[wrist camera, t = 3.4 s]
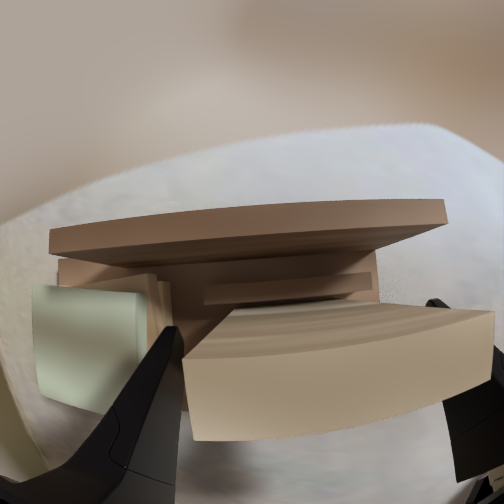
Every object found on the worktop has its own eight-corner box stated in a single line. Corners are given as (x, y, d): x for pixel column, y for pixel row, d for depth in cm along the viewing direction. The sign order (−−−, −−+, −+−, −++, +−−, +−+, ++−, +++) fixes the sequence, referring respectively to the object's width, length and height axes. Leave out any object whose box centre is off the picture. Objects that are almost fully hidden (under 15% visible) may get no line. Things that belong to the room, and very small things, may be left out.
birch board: (336, 322, 17) (490, 379, 4) (238, 331, 17) (193, 440, 4) (335, 297, 17) (494, 311, 4) (236, 306, 17) (181, 359, 4)
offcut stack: (186, 395, 16) (166, 425, 12) (78, 386, 16) (42, 403, 12) (174, 275, 17) (148, 270, 13) (66, 281, 17) (25, 277, 13)
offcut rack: (372, 384, 18) (445, 440, 8) (82, 392, 18) (5, 433, 8) (365, 238, 19) (443, 198, 10) (69, 261, 19) (-22, 242, 10)
